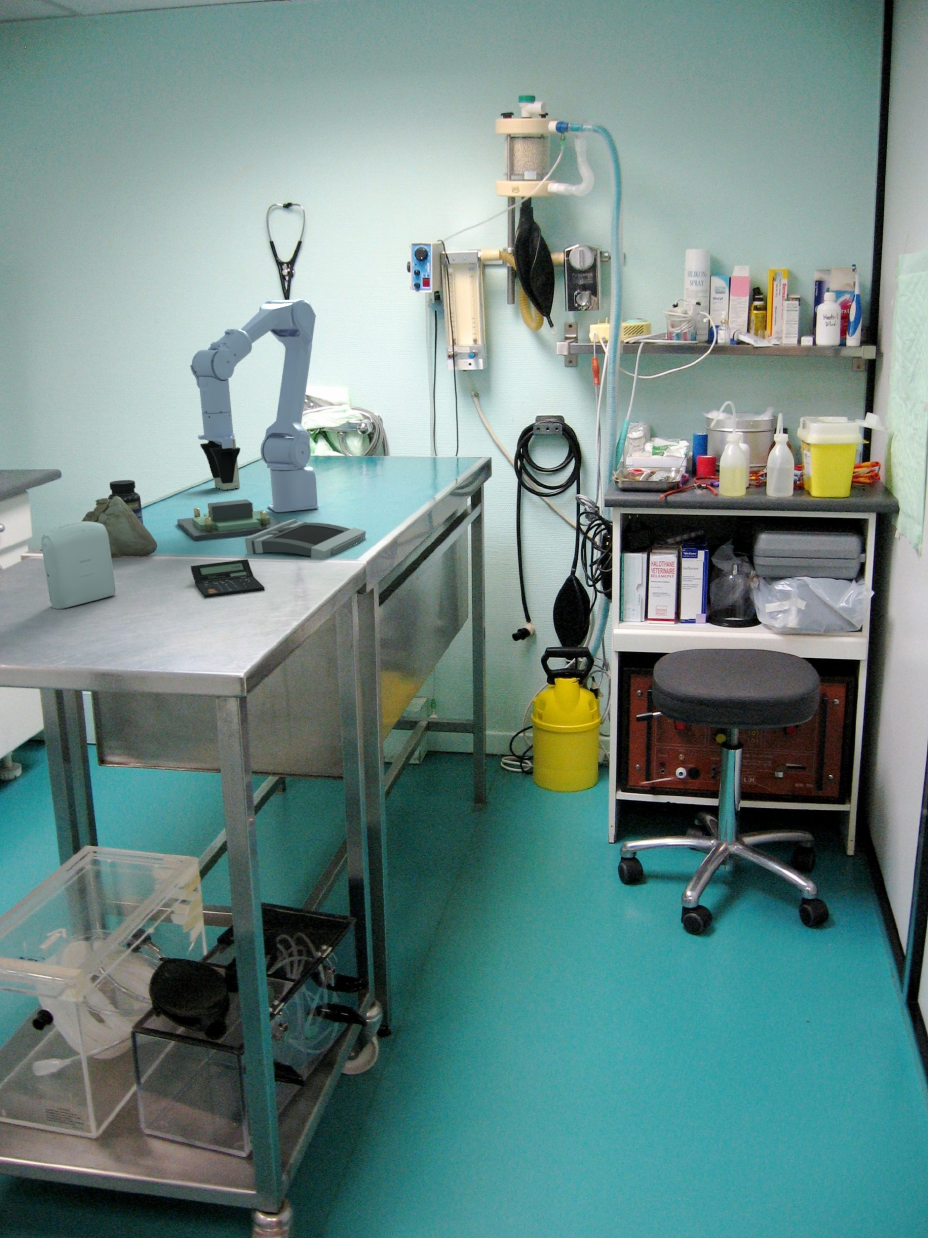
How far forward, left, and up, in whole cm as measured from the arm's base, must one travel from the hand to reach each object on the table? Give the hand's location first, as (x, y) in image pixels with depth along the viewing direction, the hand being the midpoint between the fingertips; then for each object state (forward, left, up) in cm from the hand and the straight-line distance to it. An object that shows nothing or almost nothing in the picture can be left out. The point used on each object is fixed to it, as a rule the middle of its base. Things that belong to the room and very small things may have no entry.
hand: (222, 480), depth 214 cm
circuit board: (0, +2, -8) cm, 9 cm away
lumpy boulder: (+22, +14, -10) cm, 28 cm away
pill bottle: (+20, +1, -10) cm, 22 cm away
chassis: (0, +2, -9) cm, 10 cm away
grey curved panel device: (-9, +26, -10) cm, 29 cm away
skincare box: (-10, -45, -10) cm, 47 cm away
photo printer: (+33, +45, -10) cm, 56 cm away
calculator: (+11, +47, -10) cm, 49 cm away
